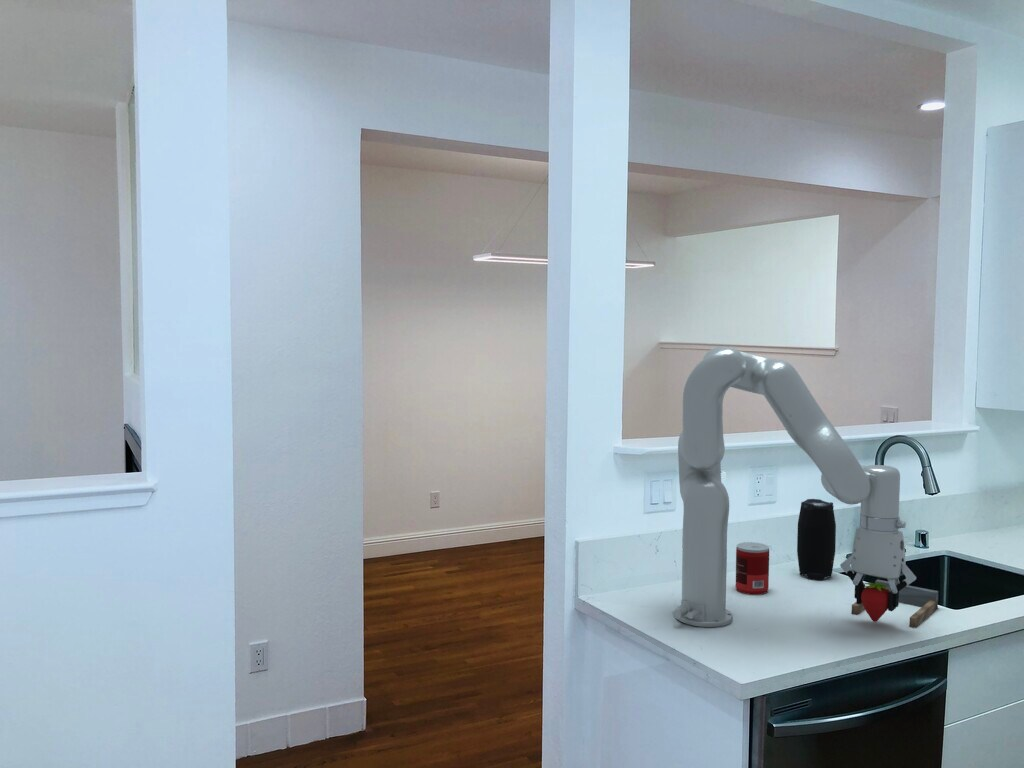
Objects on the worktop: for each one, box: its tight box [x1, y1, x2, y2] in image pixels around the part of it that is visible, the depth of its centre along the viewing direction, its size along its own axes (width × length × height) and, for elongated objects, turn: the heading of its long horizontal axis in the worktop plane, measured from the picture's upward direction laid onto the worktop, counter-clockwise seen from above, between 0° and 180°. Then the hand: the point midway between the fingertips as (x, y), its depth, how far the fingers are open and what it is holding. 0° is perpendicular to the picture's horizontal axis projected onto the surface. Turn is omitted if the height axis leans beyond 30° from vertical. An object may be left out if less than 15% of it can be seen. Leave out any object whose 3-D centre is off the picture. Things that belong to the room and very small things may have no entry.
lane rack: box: [851, 579, 939, 629], centre depth 187 cm, size 17×13×4 cm
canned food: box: [735, 541, 770, 596], centre depth 202 cm, size 8×8×11 cm
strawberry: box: [861, 577, 890, 623], centre depth 178 cm, size 6×8×10 cm
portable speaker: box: [796, 498, 837, 581], centre depth 214 cm, size 9×9×20 cm
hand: (876, 605), depth 178 cm, fingers closed on strawberry, 5 cm apart
